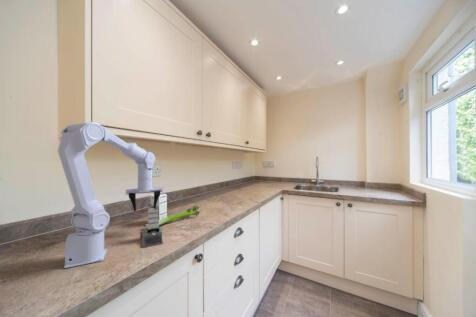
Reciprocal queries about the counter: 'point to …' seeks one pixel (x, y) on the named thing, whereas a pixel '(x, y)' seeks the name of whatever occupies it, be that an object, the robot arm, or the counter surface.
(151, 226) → the column
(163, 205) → the syrup box
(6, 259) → the counter surface
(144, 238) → the stand
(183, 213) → the leek
